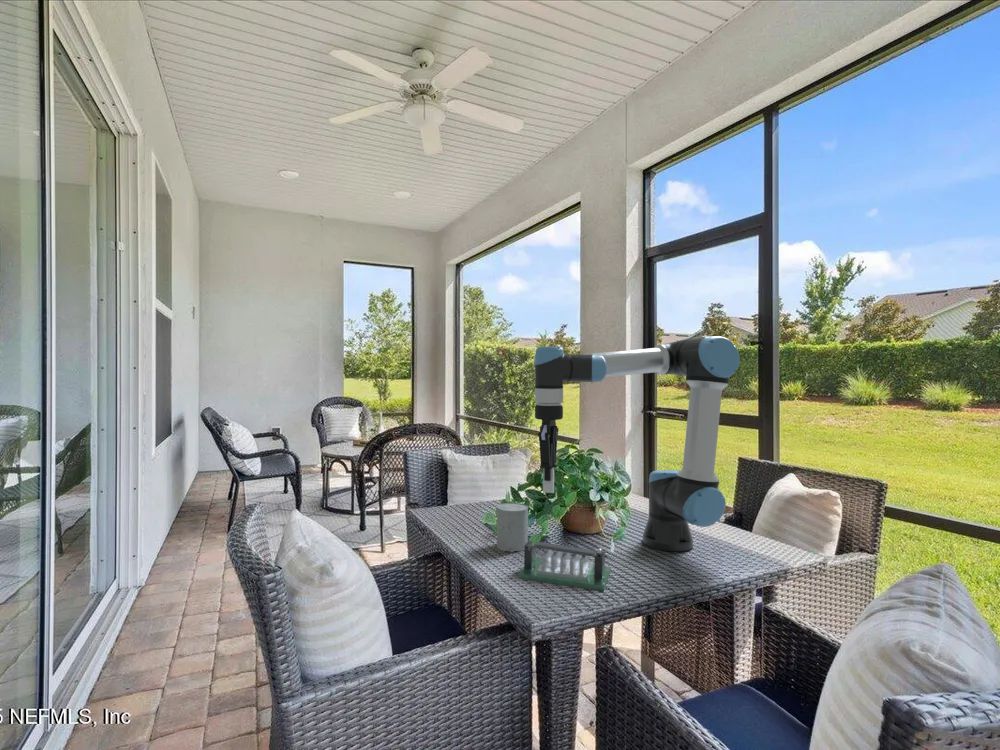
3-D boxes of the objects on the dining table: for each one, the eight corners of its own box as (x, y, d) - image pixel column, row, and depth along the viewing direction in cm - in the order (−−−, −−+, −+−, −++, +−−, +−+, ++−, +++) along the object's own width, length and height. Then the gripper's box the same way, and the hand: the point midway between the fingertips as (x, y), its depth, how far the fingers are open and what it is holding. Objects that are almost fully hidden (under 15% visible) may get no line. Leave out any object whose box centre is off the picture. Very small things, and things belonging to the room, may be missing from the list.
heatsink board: (610, 571, 140) (610, 545, 140) (603, 591, 128) (604, 562, 128) (532, 561, 148) (532, 535, 148) (518, 578, 135) (518, 550, 135)
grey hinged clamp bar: (602, 554, 136) (603, 547, 136) (600, 558, 133) (601, 551, 133) (536, 543, 142) (537, 537, 142) (533, 547, 139) (533, 540, 139)
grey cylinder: (504, 539, 166) (505, 501, 166) (532, 544, 162) (532, 505, 162) (491, 548, 157) (491, 508, 157) (520, 554, 153) (520, 512, 153)
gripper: (541, 402, 146) (541, 485, 147) (528, 405, 134) (528, 496, 134) (567, 403, 144) (567, 487, 144) (557, 406, 132) (556, 499, 132)
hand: (548, 492), depth 139 cm, fingers closed
